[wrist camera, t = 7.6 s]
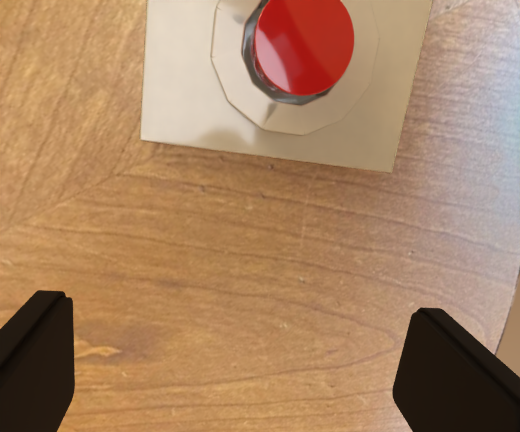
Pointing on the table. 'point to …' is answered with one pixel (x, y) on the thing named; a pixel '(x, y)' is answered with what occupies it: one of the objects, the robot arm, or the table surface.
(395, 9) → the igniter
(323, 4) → the button
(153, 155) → the table surface
